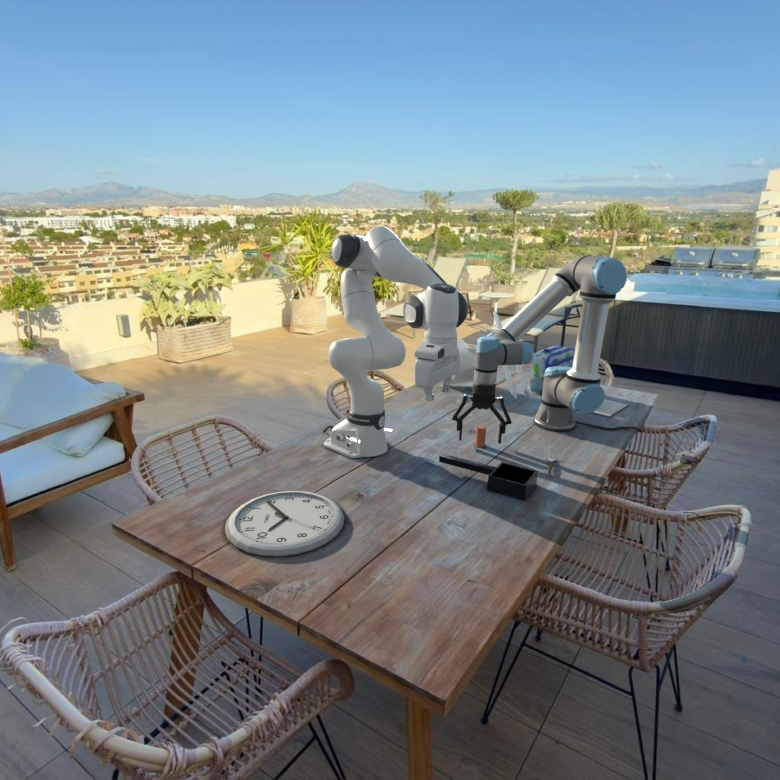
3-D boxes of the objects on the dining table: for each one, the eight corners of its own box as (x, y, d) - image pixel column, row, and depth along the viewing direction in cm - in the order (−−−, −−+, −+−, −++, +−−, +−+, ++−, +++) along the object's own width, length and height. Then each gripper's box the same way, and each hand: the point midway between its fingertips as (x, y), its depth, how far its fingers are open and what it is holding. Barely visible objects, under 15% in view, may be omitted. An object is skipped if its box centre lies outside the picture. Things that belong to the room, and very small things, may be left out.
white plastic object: (461, 429, 252) (437, 405, 227) (444, 352, 274) (420, 323, 250) (535, 404, 240) (518, 377, 215) (510, 326, 262) (492, 293, 237)
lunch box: (546, 399, 235) (551, 353, 228) (525, 393, 242) (530, 349, 236) (574, 387, 252) (579, 345, 246) (553, 383, 260) (558, 341, 253)
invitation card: (608, 416, 214) (573, 407, 224) (608, 416, 214) (573, 408, 224) (628, 404, 229) (594, 396, 238) (628, 405, 229) (594, 397, 238)
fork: (544, 474, 162) (545, 469, 162) (548, 455, 177) (548, 449, 176) (553, 476, 161) (554, 470, 161) (556, 456, 176) (557, 450, 175)
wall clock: (344, 547, 121) (211, 552, 118) (344, 554, 121) (212, 558, 119) (344, 486, 149) (237, 489, 147) (344, 491, 150) (237, 494, 147)
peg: (484, 444, 185) (485, 425, 183) (485, 447, 182) (486, 429, 180) (475, 443, 185) (476, 425, 183) (475, 447, 182) (477, 428, 180)
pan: (536, 484, 156) (537, 470, 155) (524, 500, 147) (526, 485, 146) (447, 461, 171) (448, 448, 169) (432, 474, 162) (432, 461, 160)
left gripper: (446, 338, 148) (444, 385, 153) (410, 351, 132) (409, 403, 136) (466, 341, 145) (463, 388, 150) (433, 355, 129) (430, 408, 133)
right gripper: (520, 381, 179) (514, 439, 185) (447, 377, 182) (444, 434, 188) (523, 387, 172) (517, 447, 178) (447, 383, 175) (443, 442, 181)
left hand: (437, 396), depth 143 cm, fingers open, 8 cm apart
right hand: (479, 440), depth 183 cm, fingers open, 13 cm apart
